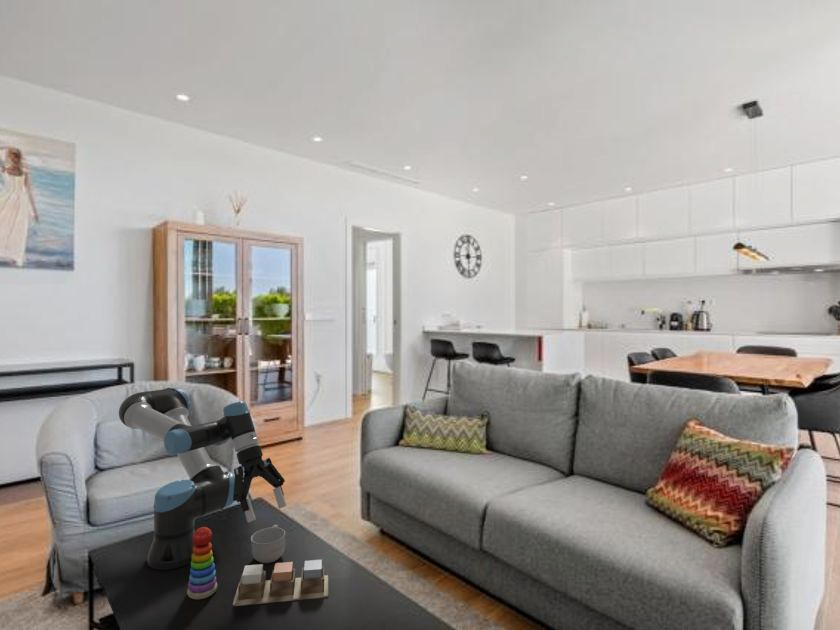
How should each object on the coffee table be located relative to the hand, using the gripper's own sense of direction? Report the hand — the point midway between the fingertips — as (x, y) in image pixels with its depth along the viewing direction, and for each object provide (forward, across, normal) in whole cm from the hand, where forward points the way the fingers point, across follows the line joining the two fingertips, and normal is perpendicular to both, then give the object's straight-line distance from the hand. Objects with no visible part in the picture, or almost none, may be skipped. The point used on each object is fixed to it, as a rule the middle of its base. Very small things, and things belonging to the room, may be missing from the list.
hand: (268, 514), depth 147 cm
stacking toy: (+13, -15, +17) cm, 26 cm away
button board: (+22, -4, -1) cm, 22 cm away
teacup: (+13, +9, +13) cm, 20 cm away
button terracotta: (+19, -4, -2) cm, 20 cm away
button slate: (+22, +1, -8) cm, 23 cm away
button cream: (+16, -9, +4) cm, 19 cm away
